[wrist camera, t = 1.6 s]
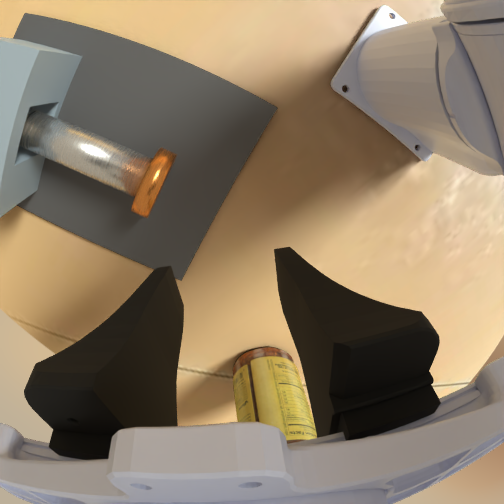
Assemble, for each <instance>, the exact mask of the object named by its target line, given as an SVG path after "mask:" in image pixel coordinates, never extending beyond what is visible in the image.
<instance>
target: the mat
mask: <svg viewBox="0 0 504 504" xmlns="http://www.w3.org/2000/svg"><path fill="white" fill-rule="evenodd" d="M13 39H20V40H25V41H29V42H33V43H37V44H41V45H45V46H48V47H52V48H56V49H59V50H62V51H66V52H69V53H72V54H76V55H79V56H82V59H81V61H80V63H79V65H78V67H77V70H76V72H75V74H74V76H73V79H72V81H71V84H70V86H69V88H68V91H67V94H66V96H65V99H64V101H63V104H62V107H61V109H60V112H59V115H58V119H60V120H63V121H65V122H68V123H70V124H73V125H75V126H78V127H80V128H82V129H85V130H87V131H90V132H92V133H94V134H97V135H99V136H101V137H104V138H106V139H108V140H111V141H113V142H115V143H118V144H120V145H122V146H125V147H127V148H129V149H132V150H134V151H136V152H138V153H141V154H143V155H145V156H147V157H150V158H152V159H153V158H154V156H155V155H156V153H157V152H158V150H159V149H160V148H161V147H162V148H164V149H166V150H168V151H171V152H173V153H175V154H177V157H176V159H175V162H174V164H173V166H172V168H171V170H170V172H169V175H168V177H167V179H166V181H165V183H164V185H163V187H162V190H161V192H160V194H159V196H158V198H157V200H156V202H155V204H154V206H153V209H152V211H151V213H150V215H149V216H148V218H145V217H143V216H140V215H138V214H136V213H134V212H132V211H131V208H132V204H133V201H134V198H135V197H133V196H130V195H128V194H126V193H124V192H122V191H119V190H117V189H115V188H113V187H110V186H108V185H106V184H104V183H101V182H99V181H97V180H95V179H93V178H90V177H88V176H86V175H84V174H81V173H79V172H77V171H75V170H72V169H70V168H68V167H66V166H64V165H61V164H59V163H57V162H55V161H52V160H50V159H48V158H46V157H45V161H44V164H43V168H42V172H41V176H40V181H39V185H38V190H37V191H36V192H34V193H33V194H31V195H30V196H29V197H27V198H26V199H24V200H23V201H22V202H20V203H19V204H18V205H17V206H19V207H21V208H23V209H25V210H27V211H29V212H31V213H33V214H35V215H37V216H39V217H41V218H43V219H45V220H47V221H49V222H51V223H53V224H55V225H57V226H60V227H62V228H64V229H66V230H68V231H70V232H72V233H74V234H76V235H78V236H81V237H83V238H85V239H87V240H89V241H91V242H93V243H96V244H98V245H100V246H102V247H104V248H107V249H109V250H111V251H113V252H116V253H118V254H120V255H122V256H125V257H127V258H129V259H131V260H134V261H136V262H138V263H141V264H143V265H145V266H148V267H150V268H152V269H156V268H159V267H165V266H171V267H172V270H173V274H174V277H175V278H176V279H179V280H182V278H183V276H184V275H185V273H186V271H187V269H188V267H189V265H190V263H191V261H192V259H193V257H194V255H195V253H196V251H197V249H198V248H199V246H200V244H201V242H202V240H203V238H204V236H205V234H206V233H207V231H208V229H209V227H210V225H211V223H212V221H213V220H214V218H215V216H216V214H217V212H218V210H219V209H220V207H221V205H222V203H223V201H224V199H225V198H226V196H227V194H228V192H229V190H230V189H231V187H232V185H233V183H234V182H235V180H236V178H237V176H238V174H239V173H240V171H241V169H242V167H243V166H244V164H245V162H246V161H247V159H248V157H249V155H250V154H251V152H252V150H253V148H254V147H255V145H256V143H257V142H258V140H259V138H260V137H261V135H262V133H263V132H264V130H265V128H266V126H267V125H268V123H269V121H270V120H271V118H272V117H273V115H274V113H275V112H276V110H277V107H275V106H274V105H272V104H270V103H268V102H267V101H265V100H263V99H261V98H259V97H257V96H256V95H254V94H252V93H250V92H248V91H246V90H244V89H242V88H240V87H238V86H236V85H234V84H232V83H230V82H228V81H226V80H224V79H222V78H220V77H218V76H216V75H214V74H212V73H210V72H208V71H205V70H203V69H201V68H199V67H197V66H194V65H192V64H190V63H188V62H185V61H183V60H181V59H178V58H176V57H173V56H171V55H168V54H166V53H163V52H161V51H158V50H156V49H153V48H150V47H148V46H145V45H142V44H140V43H137V42H134V41H131V40H128V39H125V38H122V37H119V36H116V35H113V34H110V33H107V32H103V31H100V30H97V29H93V28H90V27H86V26H82V25H79V24H75V23H71V22H67V21H62V20H58V19H54V18H49V17H44V16H39V15H33V14H28V13H25V14H24V16H23V18H22V20H21V22H20V24H19V26H18V28H17V31H16V33H15V35H14V37H13Z"/></svg>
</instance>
